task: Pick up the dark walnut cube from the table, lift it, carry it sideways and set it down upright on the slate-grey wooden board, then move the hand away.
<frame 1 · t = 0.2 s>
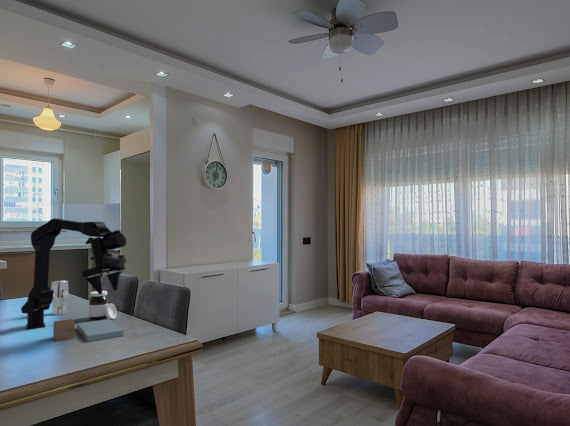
hand: (108, 292, 149), 15 cm above the table, tool pointing down, fingers open, 9 cm apart
walnut cube: (63, 337, 140), on the table
slate board: (99, 332, 148), on the table
spread jar: (102, 318, 170), on the table
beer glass: (59, 313, 179), on the table
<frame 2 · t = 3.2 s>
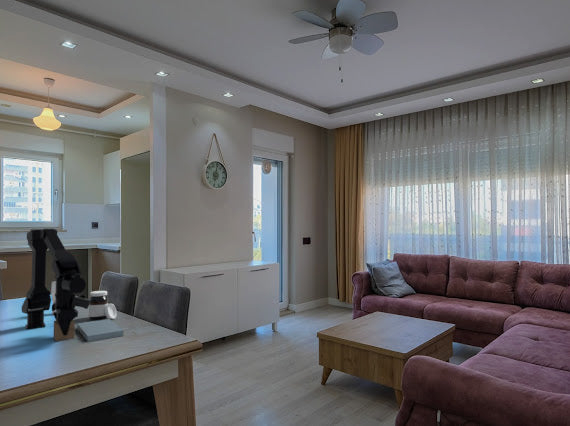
hand: (64, 333, 140), 2 cm above the table, tool pointing down, fingers closed on walnut cube, 6 cm apart
walnut cube: (64, 337, 140), on the table, touching gripper
everything else where it was.
when the fingers open (5 cm above the table, at t = 8.1 s): walnut cube drops 1 cm, resting on slate board.
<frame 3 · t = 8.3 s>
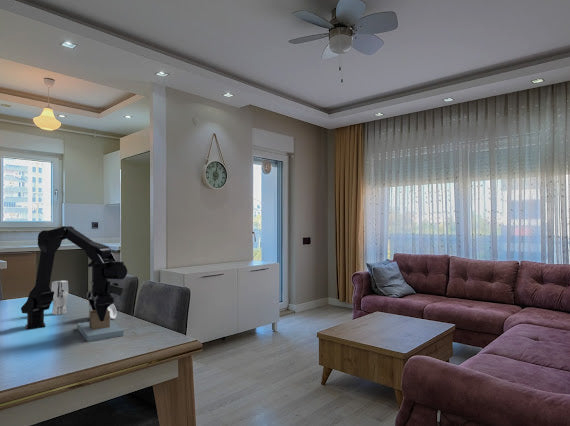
hand: (99, 319, 148), 5 cm above the table, tool pointing down, fingers open, 8 cm apart
walnut cube: (99, 326, 148), point 2 cm above the table, touching slate board
everything else where it was.
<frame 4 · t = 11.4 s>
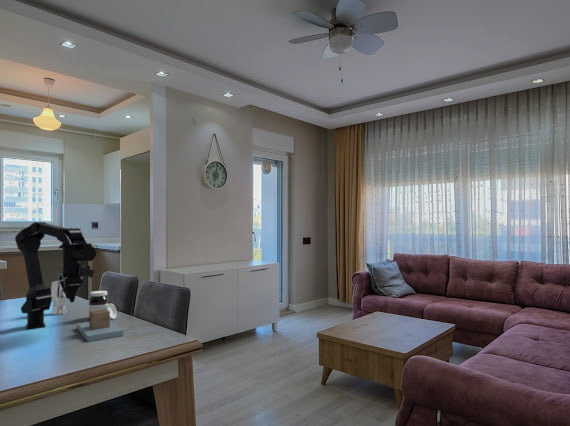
hand: (70, 300, 149), 12 cm above the table, tool pointing down, fingers open, 9 cm apart
nothing on the table moved.
at the end: walnut cube inside the target area on the slate board (0.0 cm from its centre), point 2.0 cm above the slate board's base; walnut cube tilted 0°; the gripper is holding nothing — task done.
